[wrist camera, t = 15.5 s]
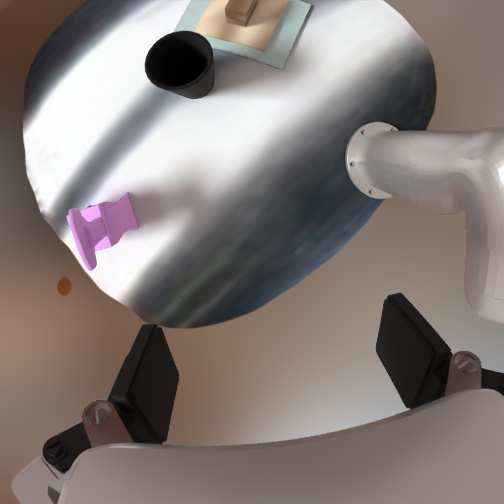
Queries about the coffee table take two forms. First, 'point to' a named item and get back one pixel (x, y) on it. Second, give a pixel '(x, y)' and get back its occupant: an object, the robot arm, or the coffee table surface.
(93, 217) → the toy chair
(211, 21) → the lid
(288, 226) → the coffee table surface
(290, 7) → the mat
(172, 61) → the cup
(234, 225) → the coffee table surface
